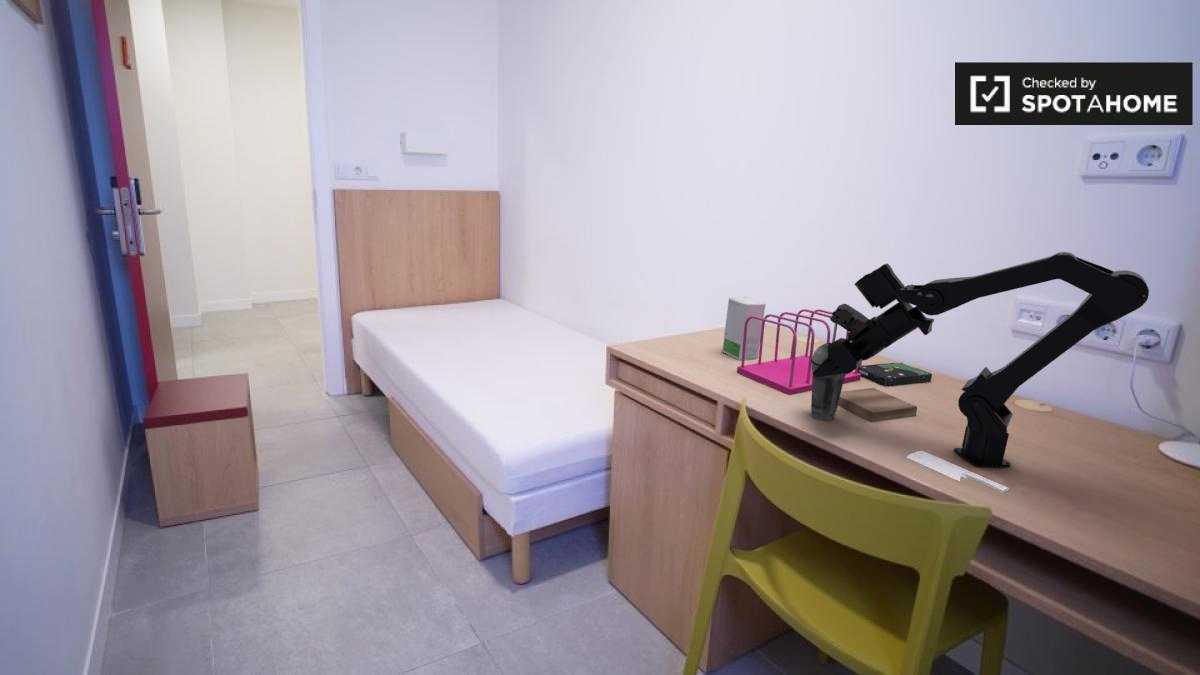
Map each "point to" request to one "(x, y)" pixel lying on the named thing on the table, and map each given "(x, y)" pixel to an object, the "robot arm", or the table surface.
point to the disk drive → (894, 374)
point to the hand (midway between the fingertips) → (822, 370)
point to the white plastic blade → (951, 469)
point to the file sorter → (790, 371)
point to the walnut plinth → (875, 404)
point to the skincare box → (735, 327)
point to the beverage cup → (825, 386)
